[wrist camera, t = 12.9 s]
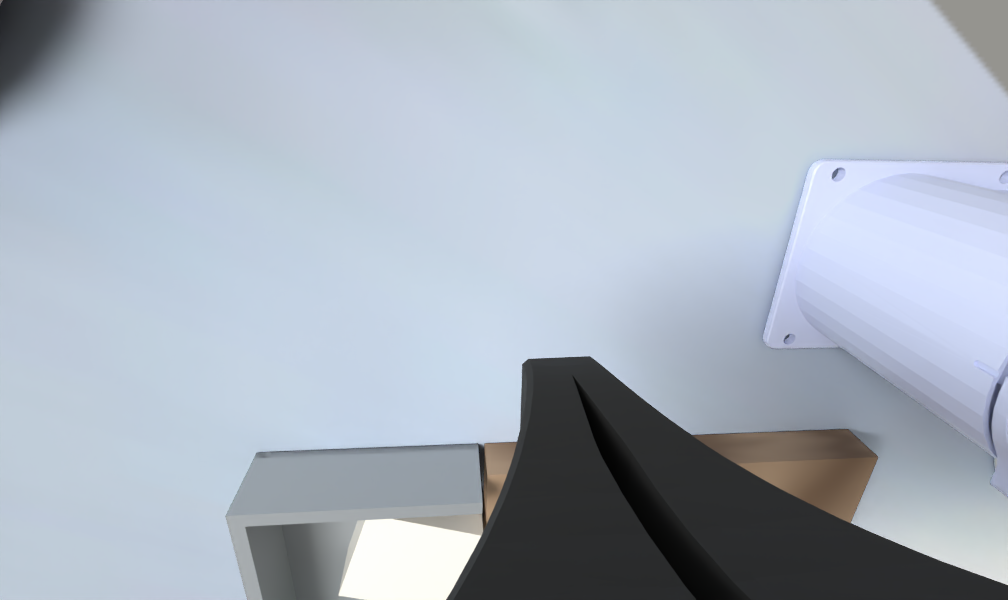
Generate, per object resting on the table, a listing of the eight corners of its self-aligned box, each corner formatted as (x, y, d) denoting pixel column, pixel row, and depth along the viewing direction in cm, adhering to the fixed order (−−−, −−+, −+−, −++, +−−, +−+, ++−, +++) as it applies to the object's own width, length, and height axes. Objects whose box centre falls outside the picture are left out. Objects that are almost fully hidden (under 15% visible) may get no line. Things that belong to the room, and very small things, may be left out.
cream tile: (480, 492, 24) (483, 536, 22) (447, 564, 26) (446, 611, 24) (375, 470, 23) (367, 514, 21) (348, 547, 25) (338, 595, 23)
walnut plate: (847, 429, 25) (878, 457, 24) (760, 656, 33) (778, 690, 31) (484, 443, 24) (487, 475, 22) (479, 680, 31) (481, 718, 29)
